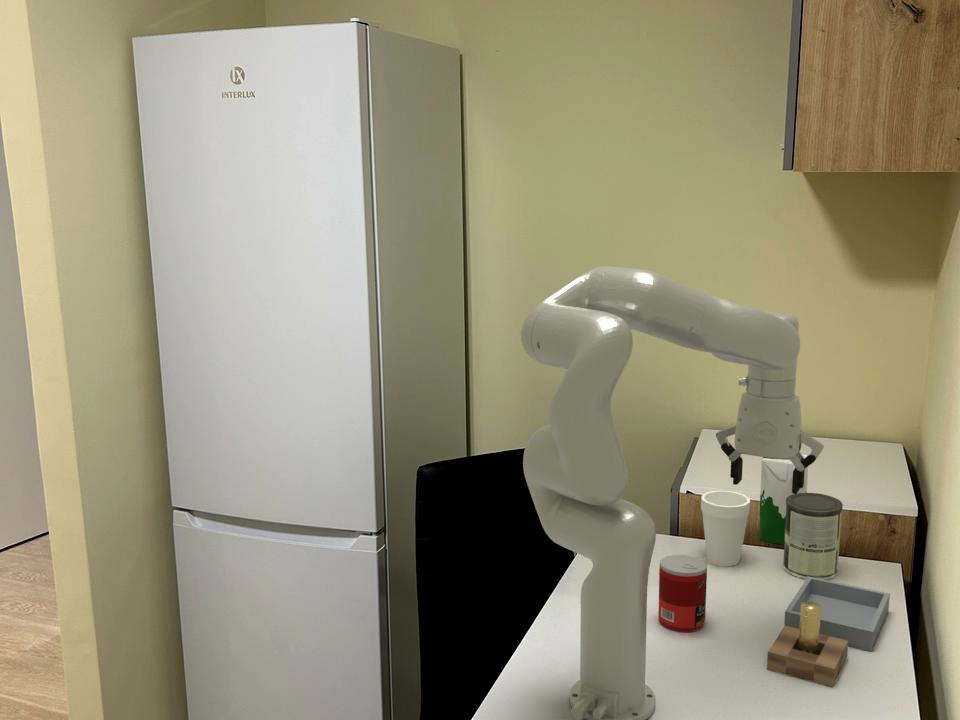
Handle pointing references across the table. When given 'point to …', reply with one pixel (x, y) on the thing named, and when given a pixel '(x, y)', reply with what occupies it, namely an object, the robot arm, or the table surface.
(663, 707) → the table surface
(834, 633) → the pin tray
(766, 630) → the table surface
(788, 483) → the milk carton
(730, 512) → the foam cup
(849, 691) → the table surface
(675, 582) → the canned food
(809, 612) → the pin
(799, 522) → the coffee can
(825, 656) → the pin bracket
